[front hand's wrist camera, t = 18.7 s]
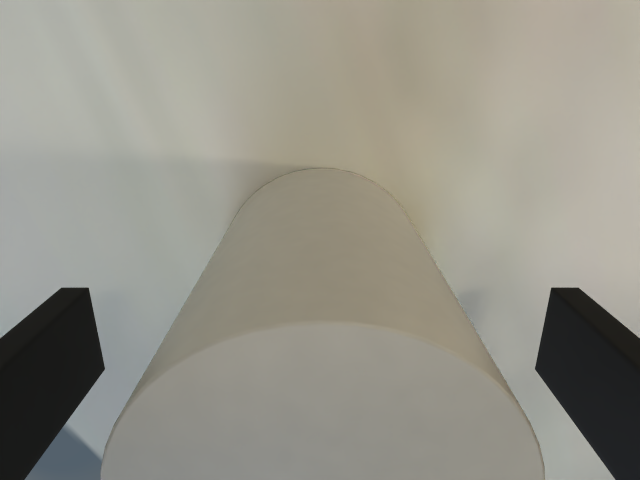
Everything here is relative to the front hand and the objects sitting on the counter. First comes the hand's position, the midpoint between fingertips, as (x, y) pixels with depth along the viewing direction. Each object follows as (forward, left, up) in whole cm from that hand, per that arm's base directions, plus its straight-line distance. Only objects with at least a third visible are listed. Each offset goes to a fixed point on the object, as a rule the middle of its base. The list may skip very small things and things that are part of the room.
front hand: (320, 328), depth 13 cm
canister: (0, 0, -4) cm, 4 cm away
